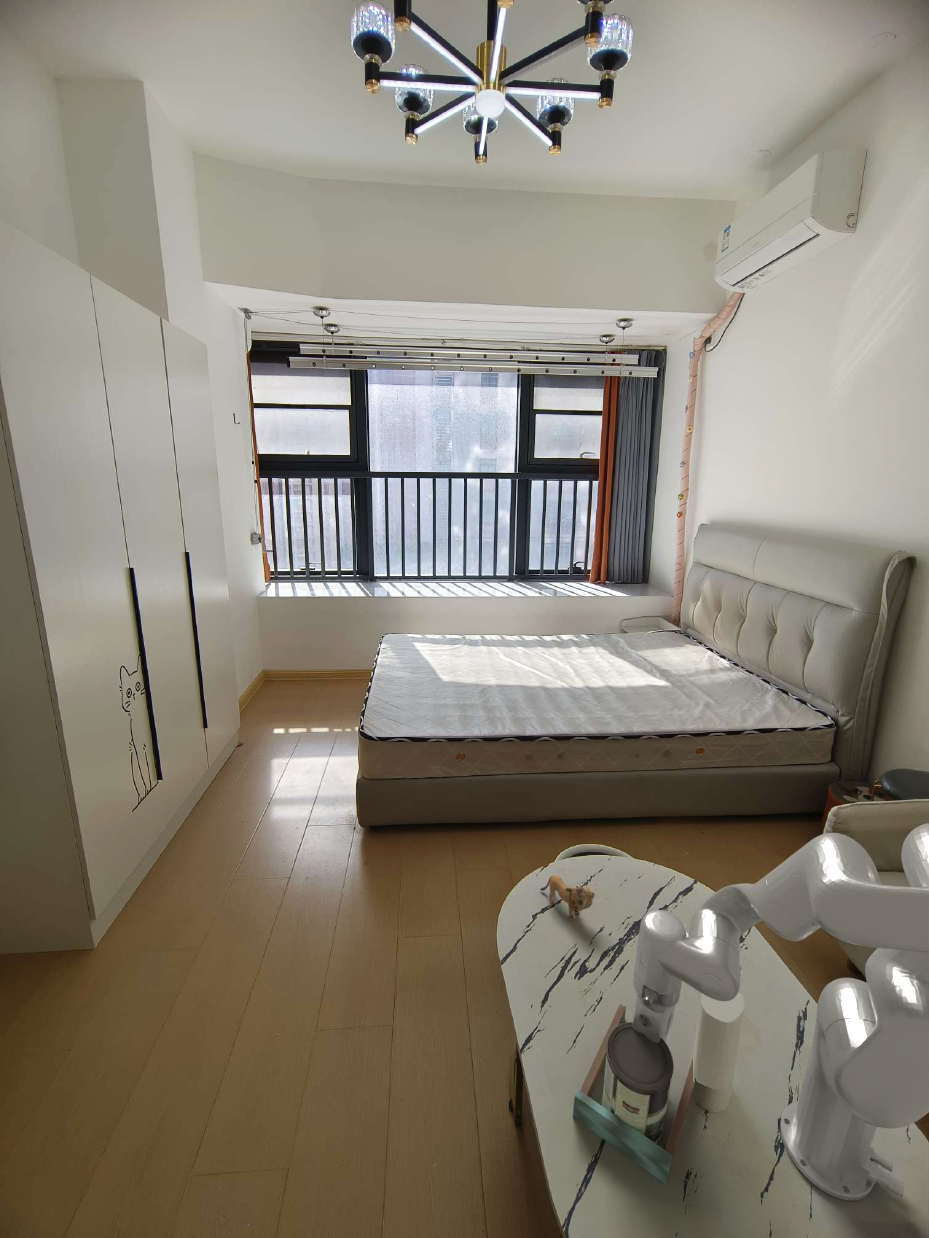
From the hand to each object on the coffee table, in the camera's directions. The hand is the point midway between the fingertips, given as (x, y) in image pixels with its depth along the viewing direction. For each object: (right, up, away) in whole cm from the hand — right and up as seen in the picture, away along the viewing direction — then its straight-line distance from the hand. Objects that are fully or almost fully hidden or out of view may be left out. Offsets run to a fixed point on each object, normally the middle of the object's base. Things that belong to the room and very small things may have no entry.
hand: (645, 1058), depth 98 cm
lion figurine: (-7, +8, +36) cm, 38 cm away
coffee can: (-4, -5, -5) cm, 8 cm away
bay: (-1, -3, -2) cm, 4 cm away
